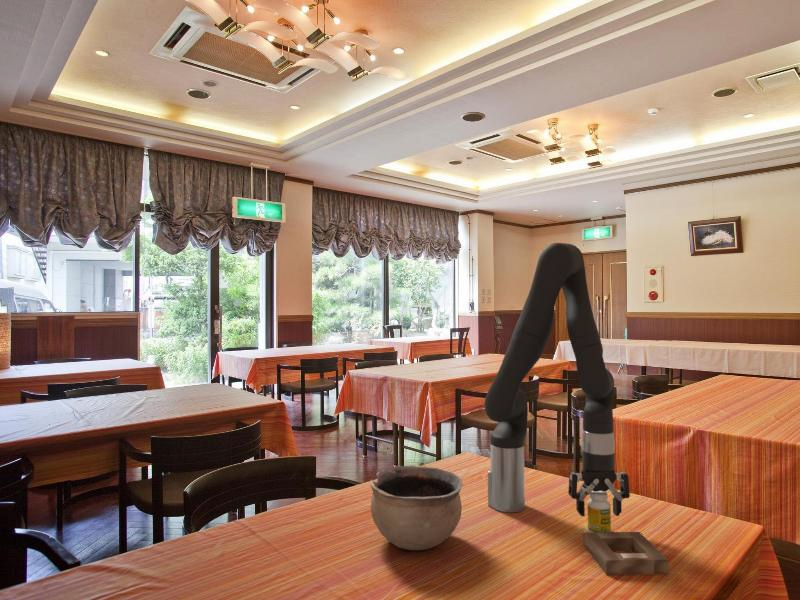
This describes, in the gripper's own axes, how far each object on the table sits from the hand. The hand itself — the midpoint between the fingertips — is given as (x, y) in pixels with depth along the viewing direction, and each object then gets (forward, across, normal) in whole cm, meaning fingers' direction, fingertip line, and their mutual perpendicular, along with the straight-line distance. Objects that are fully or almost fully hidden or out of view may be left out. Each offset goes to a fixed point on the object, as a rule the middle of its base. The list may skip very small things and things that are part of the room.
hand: (599, 514), depth 127 cm
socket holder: (+4, 0, -14) cm, 14 cm away
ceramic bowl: (+4, -45, -4) cm, 46 cm away
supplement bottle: (+4, 0, 0) cm, 4 cm away
